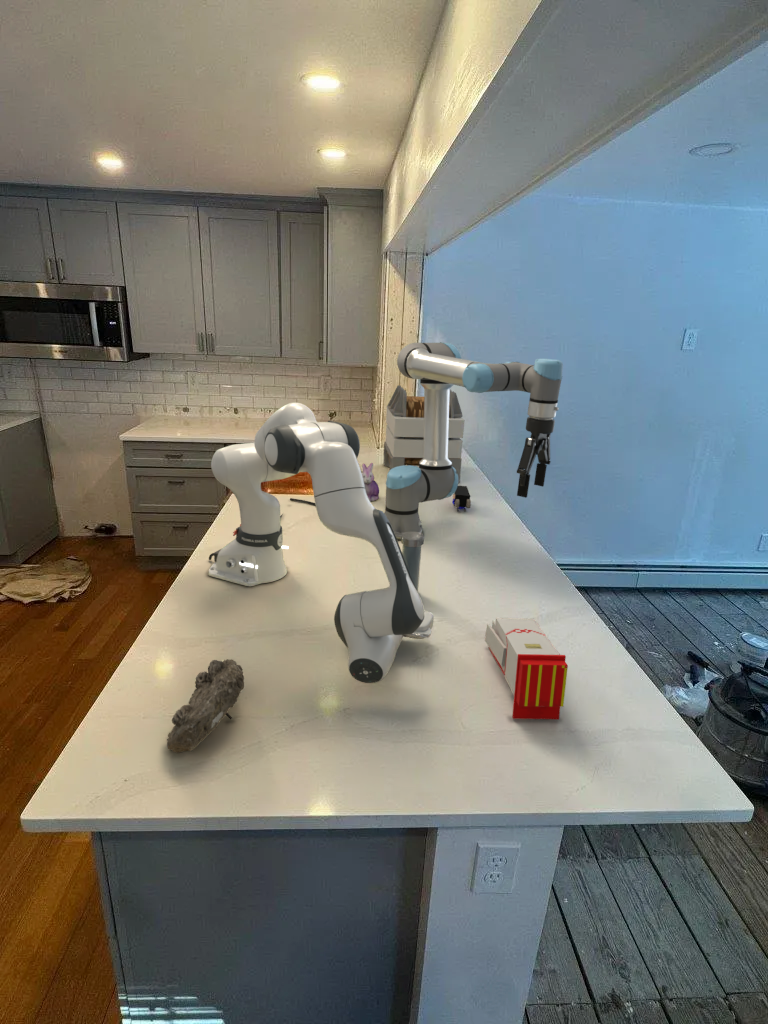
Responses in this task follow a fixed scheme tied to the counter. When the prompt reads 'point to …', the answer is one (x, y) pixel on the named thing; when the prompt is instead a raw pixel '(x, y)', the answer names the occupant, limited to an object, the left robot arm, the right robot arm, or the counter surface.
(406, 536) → the lid
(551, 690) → the toy
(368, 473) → the figurine
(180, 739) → the fossil
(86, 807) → the counter surface
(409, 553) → the jar
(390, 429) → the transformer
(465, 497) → the figurine character
